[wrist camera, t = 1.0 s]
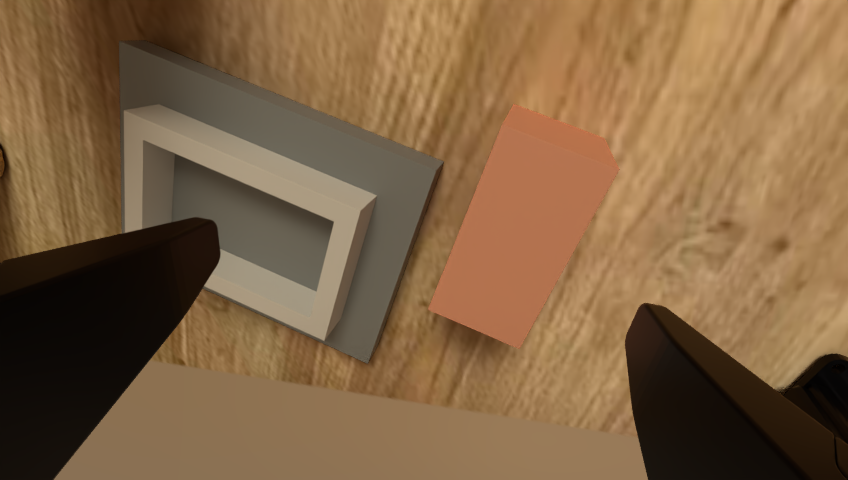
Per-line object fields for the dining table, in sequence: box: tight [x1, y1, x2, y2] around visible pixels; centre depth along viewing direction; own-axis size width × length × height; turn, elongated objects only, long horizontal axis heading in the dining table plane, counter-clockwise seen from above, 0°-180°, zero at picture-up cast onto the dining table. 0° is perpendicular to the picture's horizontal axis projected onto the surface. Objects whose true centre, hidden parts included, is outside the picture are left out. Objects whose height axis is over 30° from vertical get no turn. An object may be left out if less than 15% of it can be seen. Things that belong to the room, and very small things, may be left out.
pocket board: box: [119, 40, 443, 364], centre depth 23 cm, size 16×12×4 cm
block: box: [428, 104, 619, 349], centre depth 19 cm, size 8×4×5 cm, turn 162°
